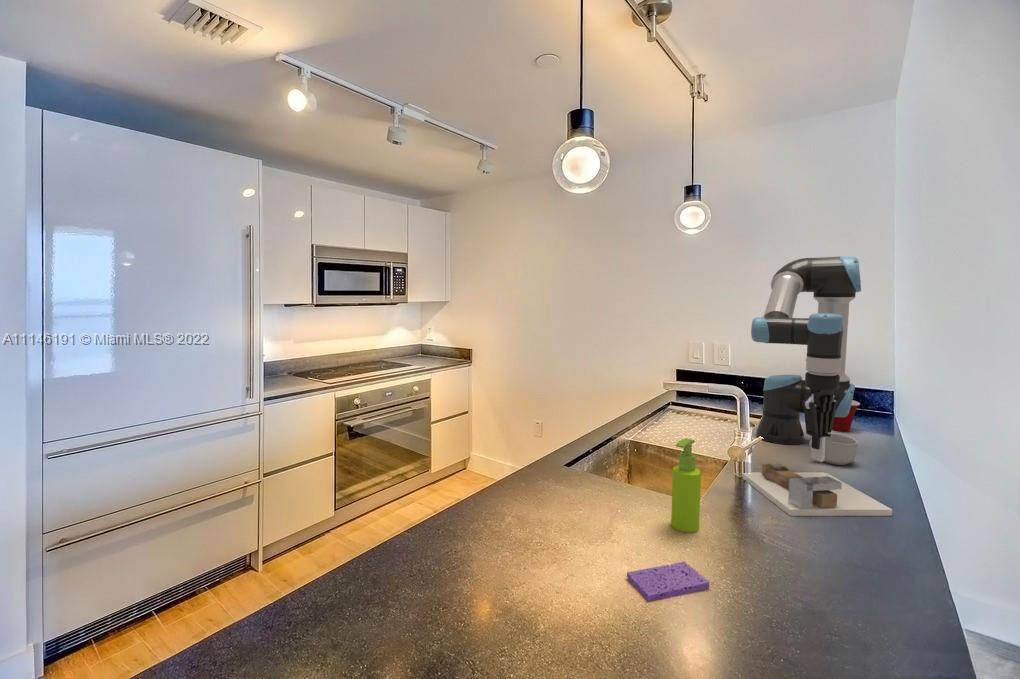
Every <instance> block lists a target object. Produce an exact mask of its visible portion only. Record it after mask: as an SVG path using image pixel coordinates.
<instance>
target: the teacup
mask: <svg viewBox="0 0 1020 679" xmlns="http://www.w3.org/2000/svg"><path fill="white" fill-rule="evenodd" d="M828 434H831V436H830V437H827V436H826V442H825V459H824V461H823V462H825V463H828V464H830V465H835V466H845V465H848V464H850V463H852V462H853V461H854V460H855V458H856V455H857V450H858V444H859V441H858V440H857V439H856V438H854V437H851V436H849V435H845V434H842V433H836V432H831V433H829V432H828ZM811 443H812V439H810V441H809V442H808V447H809V449H810V450H811Z"/></svg>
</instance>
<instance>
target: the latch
mask: <svg viewBox="0 0 1020 679" xmlns="http://www.w3.org/2000/svg"><path fill="white" fill-rule="evenodd" d="M761 472H762V475H764V477H765V478H766V479H768V480H771V481H775V482H776V483H778V484H780V485H782V486H784V487H785V488H787V489H789V479H791V478H804V477H802V476H800V475H798V474H796V473H794V472H793V471H791V470H790V469H789V468H788V467H786V466H784V465H782V464H781V463H778V462H771V463H763V464H762V466H761ZM812 503H814V504H816V505H818V506H819V507H821V508H824V507H837V494H836V493H834V492H832V491H830V490H820V491H813V499H812Z"/></svg>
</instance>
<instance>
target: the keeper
mask: <svg viewBox="0 0 1020 679" xmlns="http://www.w3.org/2000/svg"><path fill="white" fill-rule="evenodd" d="M842 482H843V481H842ZM842 482H839V481H837V480H835V479H833V478H831V477H829V476H825V477H808V478H791V479H789V496H788V502H789V503H791V504H792V505H794V506H796V507H797V508H799V509H812V499H813V491H820V490H836V489H841V488H842Z"/></svg>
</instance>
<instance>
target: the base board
mask: <svg viewBox="0 0 1020 679" xmlns="http://www.w3.org/2000/svg"><path fill="white" fill-rule="evenodd" d="M794 473H796V474H798V475H800V476H802V477H804V478H808V477H825V476H829V477H831V478H833V479H835V480H837V481H839V482H842V488H841V489H836V490H830V491H832V492H834V493H836V494H837V507H824V508H821V507H819V506H818V505H816V504H814V503H812V509H799V508H797V507H796V506H794V505H792V504H791V503H789V502H788V496H789V489H787V488H785V487H784V486H782V485H780V484H778V483H776V482H775V481H771V480H768V479H766V478H765V477H764V475H762V471H761V472H755V471H754V472H752V471H751V474H746V473H742V477H743V478H742V480H743V481H745V480H746V481H745V482H747V484H749V485H750V486H751V485H752V486H751V487H753V488H754V489H755V490H756V491H758V492H759V493H761V495H763V496H764V497H765V498H766V499H768V500H769V501H771V503H773V504H774V505H776V506H777V507H778V508H779V509H781V510H782V511H783V512H785V513H786V514H787V515H788V516H790V517H792V516H793V517H795V516H797V517H802V516H803V517H807V516H808V517H811V516H812V517H817V516H818V517H827V516H828V517H835V516H836V517H838V516H839V517H843V516H844V517H850V516H851V517H855V516H857V517H864V516H865V517H869V516H870V517H884V516H885V517H892V516H893V509H891V508H890V507H888V506H886V505H885V504H883V503H881V502H880V501H877V500H875V499H874V498H872V497H870V496H869V495H867V494H865V493H863V492H862V491H860V490H858V489H857V488H855V487H852V486H851V485H849V484H847V483H846V482H844V481H842V480H840V479H838V478H837V477H834V476H833V475H831V474H829V473H827V472H815V471H814V472H813V471H812V472H808V471H807V472H805V471H804V472H802V471H801V472H794Z"/></svg>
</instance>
